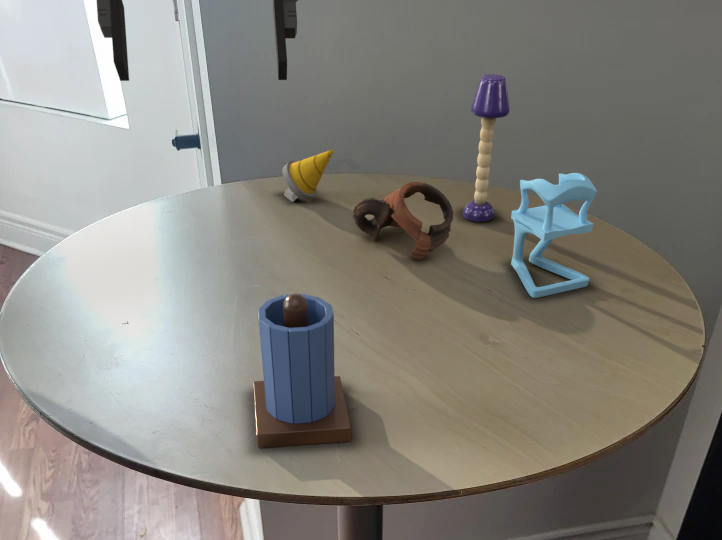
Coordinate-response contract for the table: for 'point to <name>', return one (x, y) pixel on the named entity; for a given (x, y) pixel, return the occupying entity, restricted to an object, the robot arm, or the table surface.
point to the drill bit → (305, 176)
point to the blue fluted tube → (298, 361)
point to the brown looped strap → (405, 217)
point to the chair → (551, 228)
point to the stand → (290, 434)
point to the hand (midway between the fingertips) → (203, 71)
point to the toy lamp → (486, 140)
